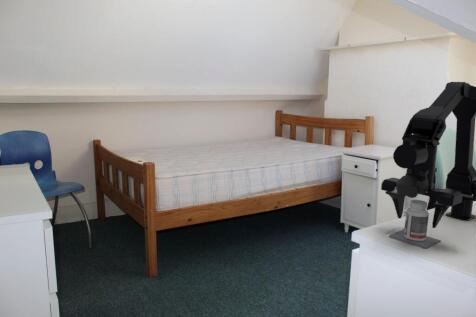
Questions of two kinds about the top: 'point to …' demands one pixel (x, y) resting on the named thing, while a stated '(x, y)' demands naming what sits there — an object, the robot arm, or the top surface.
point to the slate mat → (423, 244)
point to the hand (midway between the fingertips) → (416, 222)
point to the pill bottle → (416, 221)
